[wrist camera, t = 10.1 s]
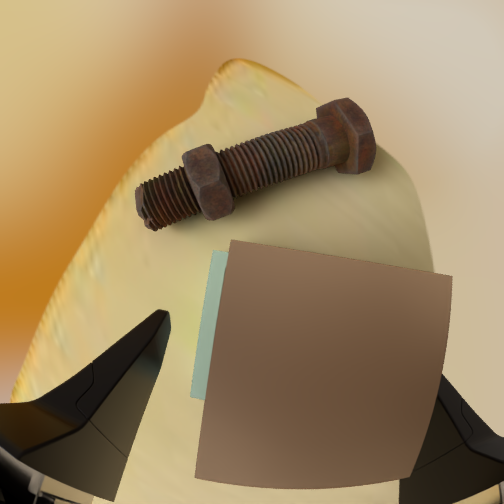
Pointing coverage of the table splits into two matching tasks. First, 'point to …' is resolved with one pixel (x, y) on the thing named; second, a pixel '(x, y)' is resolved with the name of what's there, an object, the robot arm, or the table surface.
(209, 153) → the bolt
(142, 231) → the table surface
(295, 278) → the peg
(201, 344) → the collar
